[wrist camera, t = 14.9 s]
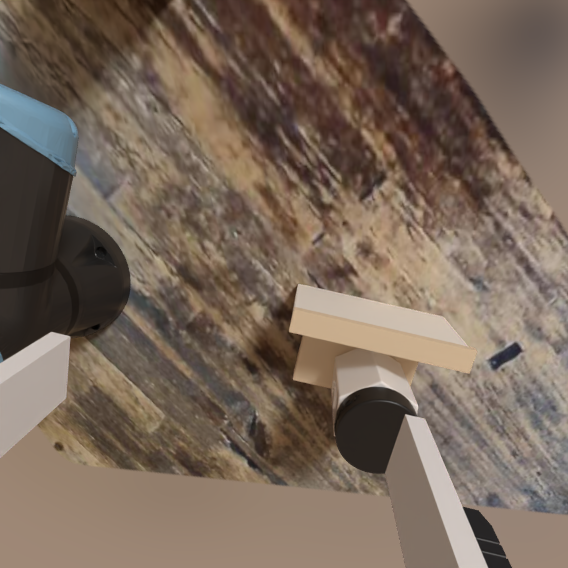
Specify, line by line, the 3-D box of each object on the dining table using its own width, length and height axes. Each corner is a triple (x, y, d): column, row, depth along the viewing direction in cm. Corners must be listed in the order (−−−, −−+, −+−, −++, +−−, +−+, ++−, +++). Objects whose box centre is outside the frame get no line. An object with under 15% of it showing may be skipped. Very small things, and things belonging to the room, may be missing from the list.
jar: (335, 339, 49) (340, 391, 38) (404, 346, 49) (431, 401, 37) (327, 405, 52) (330, 473, 40) (393, 412, 51) (414, 483, 40)
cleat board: (278, 366, 54) (269, 414, 43) (299, 280, 50) (293, 309, 40) (415, 398, 53) (438, 454, 43) (444, 313, 50) (477, 351, 40)
